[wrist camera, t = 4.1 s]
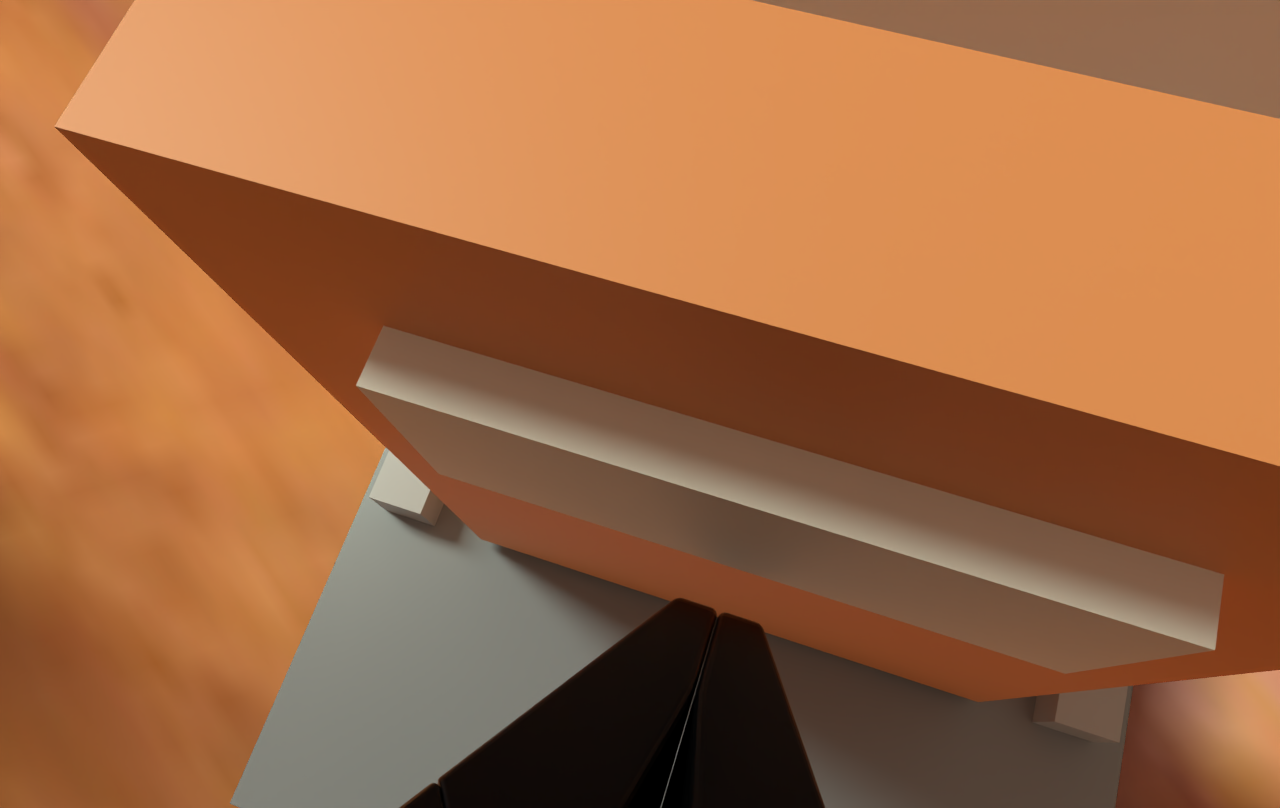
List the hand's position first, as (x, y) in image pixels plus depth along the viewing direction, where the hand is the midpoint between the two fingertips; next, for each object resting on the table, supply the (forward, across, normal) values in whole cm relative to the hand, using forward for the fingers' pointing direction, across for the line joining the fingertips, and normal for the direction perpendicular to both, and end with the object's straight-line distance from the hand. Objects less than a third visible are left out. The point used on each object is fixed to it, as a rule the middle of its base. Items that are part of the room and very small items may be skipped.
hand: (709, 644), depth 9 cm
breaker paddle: (+7, 0, +4) cm, 8 cm away
